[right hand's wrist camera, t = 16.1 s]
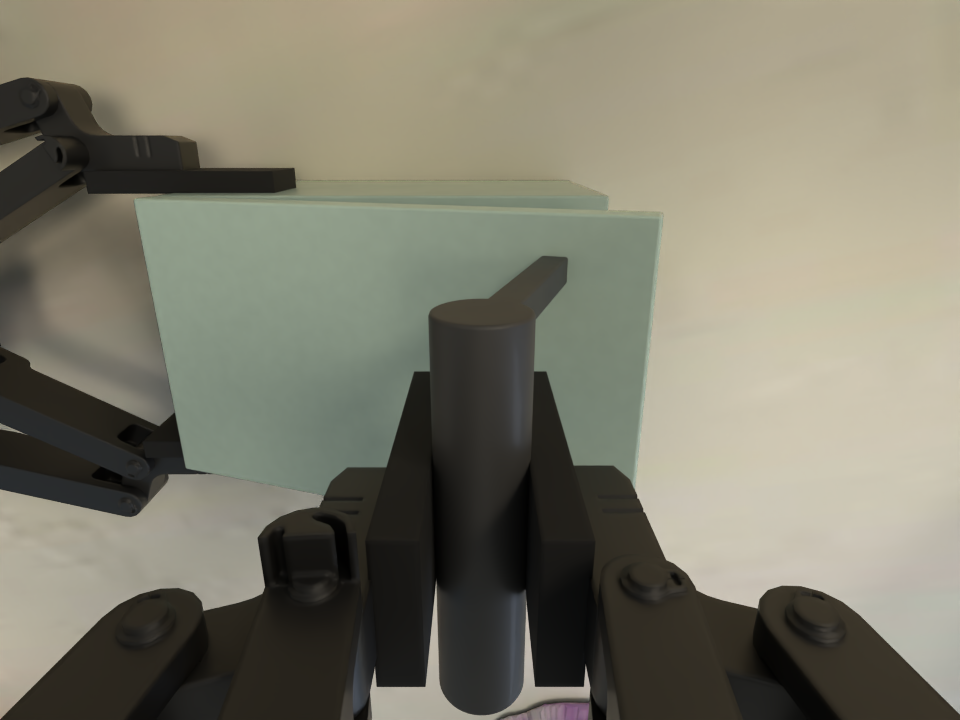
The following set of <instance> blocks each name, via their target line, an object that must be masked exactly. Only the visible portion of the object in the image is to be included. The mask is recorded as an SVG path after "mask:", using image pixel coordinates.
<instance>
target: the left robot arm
mask: <svg viewBox="0 0 960 720" xmlns="http://www.w3.org/2000/svg"><path fill="white" fill-rule="evenodd" d="M91 111H92V101H91V98H90V96H89V95H88V93H87V92H86V91H85V90H84V89H83V88H81V87H80V86H77V85H74V84H67V83H61V82H54V81H47V80H41V79H34V78H20V79H16V80H13V81H10V82H7V83H4V84H1V85H0V145H3V144H6V143H9V142H12V141H15V140H18V139H22V138H25V137H28V136H31V135H34V134H37V133H41V132H42V134H43V135H40V136H37V137H35V138H36V140H37V141H45V142H43V143H42V144H40V145H39V146H37V147H36V148H35V149H33V150H32V151H30V152H29V153H27V154H26V155H24V156H23V157H21V158H20V159H19V160H17V161H16V162H14V163H13V164H11V165H10V166H8V167H7V168H6V169H4V170H3V171H1V172H0V243H1V242H3V241H4V240H6V239H7V238H9V237H10V236H12V235H13V234H15V233H16V232H18V231H19V230H21V229H22V228H24V227H25V226H27V225H28V224H30V223H31V222H33V221H34V220H36V219H37V218H39V217H40V216H42V215H43V214H45V213H46V212H48V211H49V210H51V209H52V208H54V207H55V206H57V205H58V204H60V203H61V202H63V201H64V200H66V199H67V198H69V197H70V196H72V195H73V194H75V193H76V192H78V191H79V190H81V189H82V188H84V187H85V186H87V191H88V194H171V193H277V192H281V191H285V190H289V189H293V188H296V179H295V170H294V168H200V164H199V157H198V151H197V145H196V142H195V141H193V140H190V139H188V138H185V137H183V136H114V135H111V134H108V133H107V132H105V131H104V130H103V129H102V128H101V127H99V125H98V124H97V122H96V121H95V119H94V117H93V115H92V114H91ZM0 346H1V345H0ZM0 423H2V424H4V425H6V426H8V427H11V428H13V429H15V430H18V431H20V432H22V433H25V434H27V435H25V434H21V433H16V432H12V431H6V430H0V489H1V490H6V491H11V492H15V493H20V494H25V495H29V496H34V497H38V498H43V499H48V500H52V501H57V502H61V503H66V504H71V505H75V506H80V507H85V508H89V509H94V510H98V511H103V512H108V513H112V514H117V515H121V516H127V517H132V516H136V515H137V514H138V513H139V512H140V511H141V510H142V509H143V508H144V507H145V506H146V505H147V504H148V503H149V501H150V500H151V499H152V498H153V497H154V496H155V495H156V494H157V493H158V492H159V490H160V489H161V488H162V487H163V486H164V485H165V484H166V483H167V481H168V474H207V472H202V471H197V470H191V469H187V468H186V466H185V461H184V456H183V451H182V446H181V441H180V436H179V431H178V425H177V420H176V415H175V413H174V414H172V415H171V416H170V417H169V418H168V419H167V420H166V421H165V422H164V423H162V424H161V425H160V426H157V425H155V424H152V423H150V422H148V421H146V420H144V419H141V418H139V417H137V416H135V415H132V414H130V413H128V412H126V411H124V410H121V409H119V408H117V407H115V406H113V405H110V404H108V403H106V402H104V401H101V400H99V399H97V398H95V397H93V396H90V395H88V394H86V393H84V392H81V391H79V390H77V389H75V388H73V387H70V386H68V385H66V384H64V383H61V382H59V381H57V380H55V379H53V378H50V377H48V376H46V375H44V374H42V373H39V372H37V371H35V370H33V369H31V368H30V362H29V361H28V360H27V359H25V358H23V357H21V356H19V355H16V354H14V353H12V352H10V351H8V350H5V349H3V348H1V347H0ZM208 474H212V473H208Z"/></svg>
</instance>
